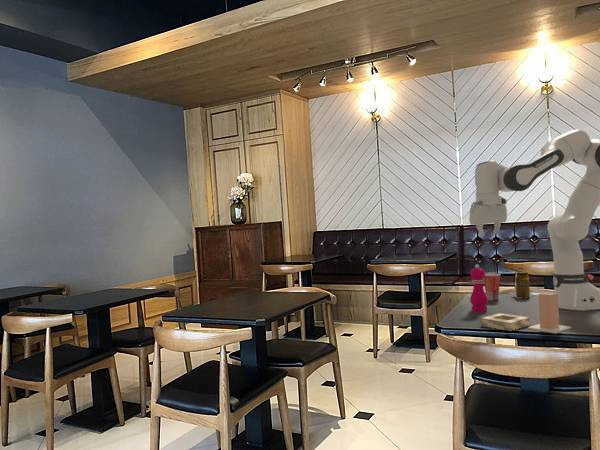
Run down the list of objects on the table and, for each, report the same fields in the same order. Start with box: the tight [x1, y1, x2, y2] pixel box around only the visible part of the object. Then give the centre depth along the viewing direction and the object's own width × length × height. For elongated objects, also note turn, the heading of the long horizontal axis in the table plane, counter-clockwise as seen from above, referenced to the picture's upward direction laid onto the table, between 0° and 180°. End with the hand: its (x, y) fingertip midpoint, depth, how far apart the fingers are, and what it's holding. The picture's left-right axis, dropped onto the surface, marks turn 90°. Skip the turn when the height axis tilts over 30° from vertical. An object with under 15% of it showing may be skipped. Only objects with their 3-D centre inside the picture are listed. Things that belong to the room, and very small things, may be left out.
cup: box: [483, 272, 502, 301], centre depth 237 cm, size 9×8×12 cm
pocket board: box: [480, 312, 531, 332], centre depth 184 cm, size 12×12×3 cm
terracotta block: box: [538, 291, 560, 329], centre depth 176 cm, size 4×4×12 cm
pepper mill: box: [469, 263, 489, 313], centre depth 213 cm, size 7×7×20 cm
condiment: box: [515, 271, 531, 298], centre depth 238 cm, size 7×8×12 cm
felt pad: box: [527, 323, 572, 334], centre depth 176 cm, size 10×10×1 cm
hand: (489, 235), depth 200 cm, fingers open, 8 cm apart
